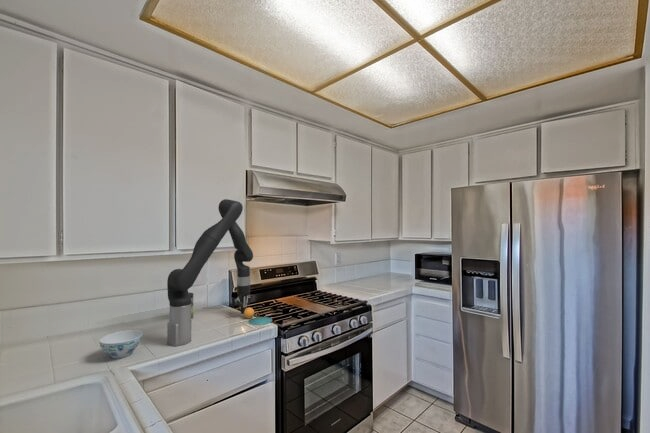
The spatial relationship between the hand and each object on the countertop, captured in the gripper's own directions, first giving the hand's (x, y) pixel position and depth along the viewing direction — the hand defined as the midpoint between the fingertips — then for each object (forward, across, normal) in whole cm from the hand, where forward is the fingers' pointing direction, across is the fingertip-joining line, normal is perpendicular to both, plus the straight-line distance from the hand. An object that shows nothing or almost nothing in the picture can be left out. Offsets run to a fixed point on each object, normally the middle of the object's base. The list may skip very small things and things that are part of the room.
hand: (243, 313), depth 180 cm
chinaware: (+1, -63, +8) cm, 63 cm away
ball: (-1, 0, -4) cm, 4 cm away
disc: (+2, -1, -13) cm, 13 cm away
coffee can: (+2, -20, +27) cm, 33 cm away
